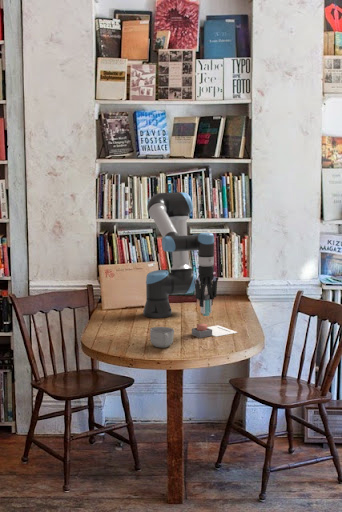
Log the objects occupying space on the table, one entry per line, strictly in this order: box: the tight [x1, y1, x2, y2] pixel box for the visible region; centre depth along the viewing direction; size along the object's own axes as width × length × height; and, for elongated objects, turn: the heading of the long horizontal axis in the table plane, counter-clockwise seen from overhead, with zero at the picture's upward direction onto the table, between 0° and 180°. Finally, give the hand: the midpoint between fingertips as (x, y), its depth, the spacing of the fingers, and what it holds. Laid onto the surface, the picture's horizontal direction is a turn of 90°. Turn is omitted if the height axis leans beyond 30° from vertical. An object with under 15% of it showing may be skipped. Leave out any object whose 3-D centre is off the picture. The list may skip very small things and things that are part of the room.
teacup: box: [149, 326, 175, 349], centre depth 333 cm, size 14×11×8 cm
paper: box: [207, 324, 239, 338], centre depth 360 cm, size 16×13×1 cm
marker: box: [202, 293, 210, 317], centre depth 359 cm, size 3×3×10 cm
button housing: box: [191, 327, 213, 339], centre depth 353 cm, size 7×7×3 cm
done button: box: [196, 323, 208, 331], centre depth 352 cm, size 5×5×3 cm
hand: (206, 312), depth 360 cm, fingers closed on marker, 3 cm apart
